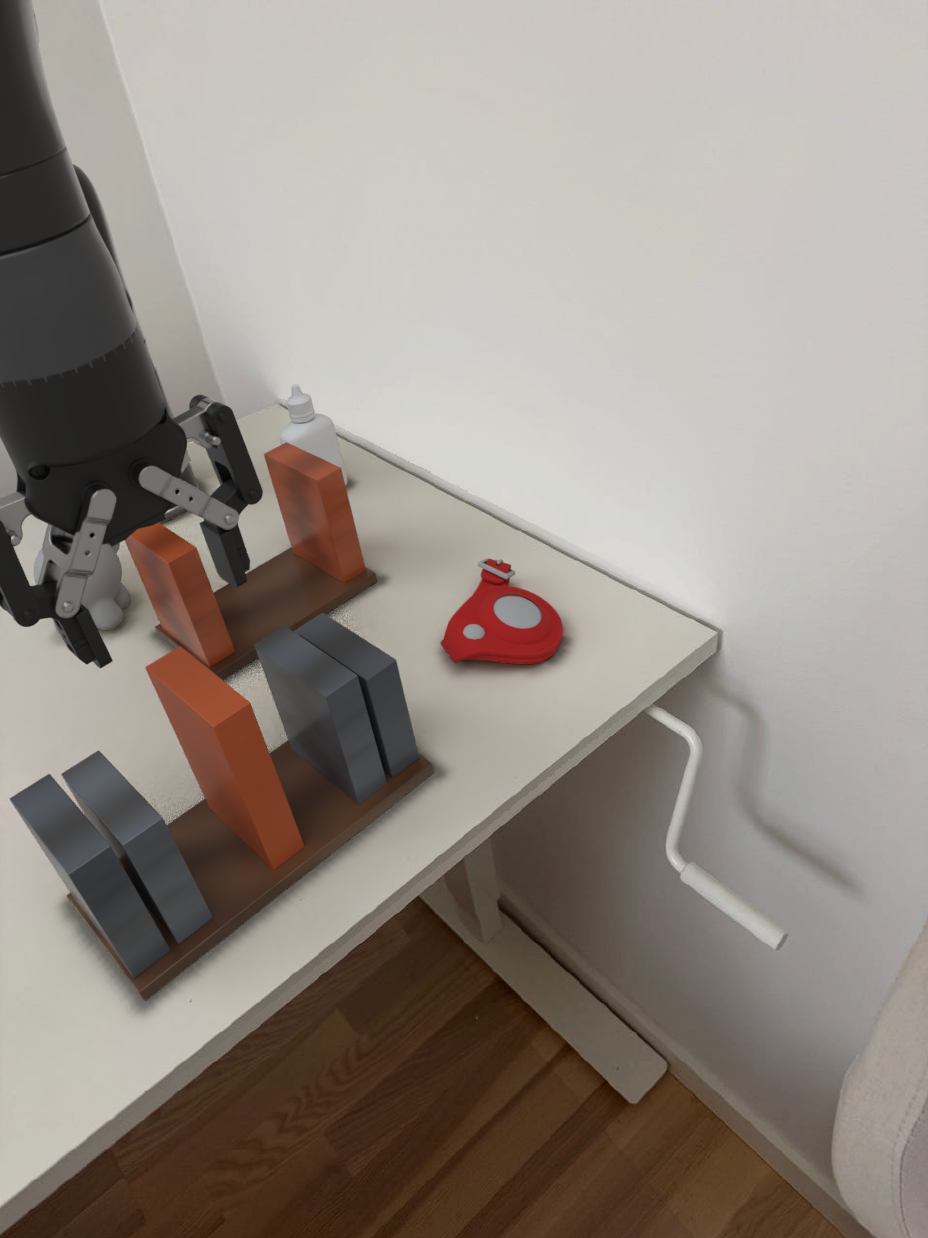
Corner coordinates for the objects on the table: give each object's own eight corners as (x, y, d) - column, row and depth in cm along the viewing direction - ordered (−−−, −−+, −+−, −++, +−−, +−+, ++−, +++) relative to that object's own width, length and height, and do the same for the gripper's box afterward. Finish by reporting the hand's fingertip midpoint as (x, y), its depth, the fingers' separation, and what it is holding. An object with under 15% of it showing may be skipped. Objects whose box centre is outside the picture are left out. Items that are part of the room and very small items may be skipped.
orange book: (209, 807, 66) (144, 666, 58) (239, 786, 67) (180, 645, 59) (273, 871, 61) (213, 727, 53) (305, 847, 62) (250, 702, 54)
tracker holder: (591, 630, 74) (486, 663, 69) (576, 669, 77) (474, 704, 72) (506, 536, 81) (405, 560, 76) (495, 575, 84) (397, 601, 79)
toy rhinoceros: (161, 559, 93) (131, 484, 88) (124, 638, 84) (88, 559, 79) (91, 566, 94) (57, 492, 89) (47, 645, 85) (5, 567, 80)
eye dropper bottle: (294, 489, 101) (263, 383, 93) (346, 476, 101) (320, 370, 94) (299, 509, 97) (268, 401, 90) (352, 495, 98) (326, 387, 90)
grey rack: (71, 904, 62) (-3, 792, 55) (347, 709, 73) (314, 595, 66) (144, 1002, 56) (71, 889, 49) (434, 772, 67) (407, 654, 60)
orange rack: (158, 635, 84) (110, 525, 77) (312, 544, 92) (282, 437, 85) (217, 683, 77) (171, 569, 70) (377, 581, 86) (351, 469, 78)
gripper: (150, 271, 48) (240, 537, 58) (-137, 380, 42) (20, 659, 52) (228, 296, 44) (311, 580, 54) (-81, 423, 37) (80, 721, 47)
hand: (168, 618), depth 53 cm, fingers open, 8 cm apart
